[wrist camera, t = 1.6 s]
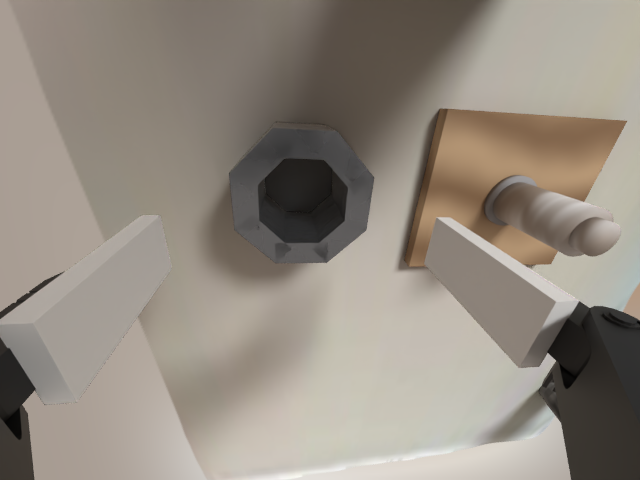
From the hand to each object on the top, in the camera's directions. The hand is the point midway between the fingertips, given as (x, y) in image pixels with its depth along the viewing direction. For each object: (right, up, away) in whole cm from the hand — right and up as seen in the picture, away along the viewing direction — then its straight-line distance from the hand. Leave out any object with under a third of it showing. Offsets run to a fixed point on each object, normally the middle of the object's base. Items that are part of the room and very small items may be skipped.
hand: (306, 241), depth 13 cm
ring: (-1, +5, +9) cm, 11 cm away
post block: (+18, +4, +12) cm, 22 cm away
